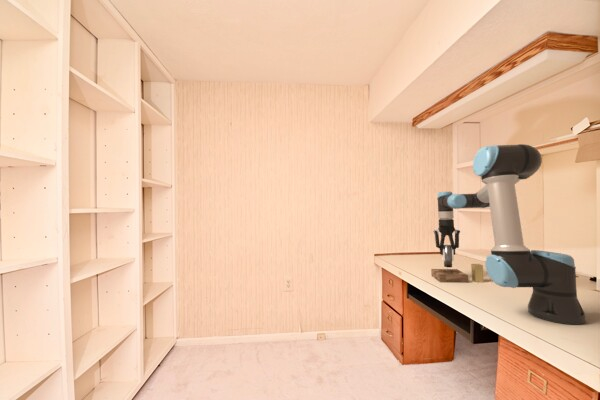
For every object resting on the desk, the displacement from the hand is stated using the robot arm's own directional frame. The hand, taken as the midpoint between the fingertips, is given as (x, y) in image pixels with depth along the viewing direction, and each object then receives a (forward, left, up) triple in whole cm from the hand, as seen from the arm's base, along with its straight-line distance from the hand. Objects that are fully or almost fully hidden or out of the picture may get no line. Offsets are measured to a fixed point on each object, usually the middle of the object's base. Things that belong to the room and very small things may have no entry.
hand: (447, 260), depth 149 cm
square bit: (-4, -13, -10) cm, 17 cm away
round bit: (0, 0, -3) cm, 3 cm away
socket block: (0, 0, -10) cm, 10 cm away
